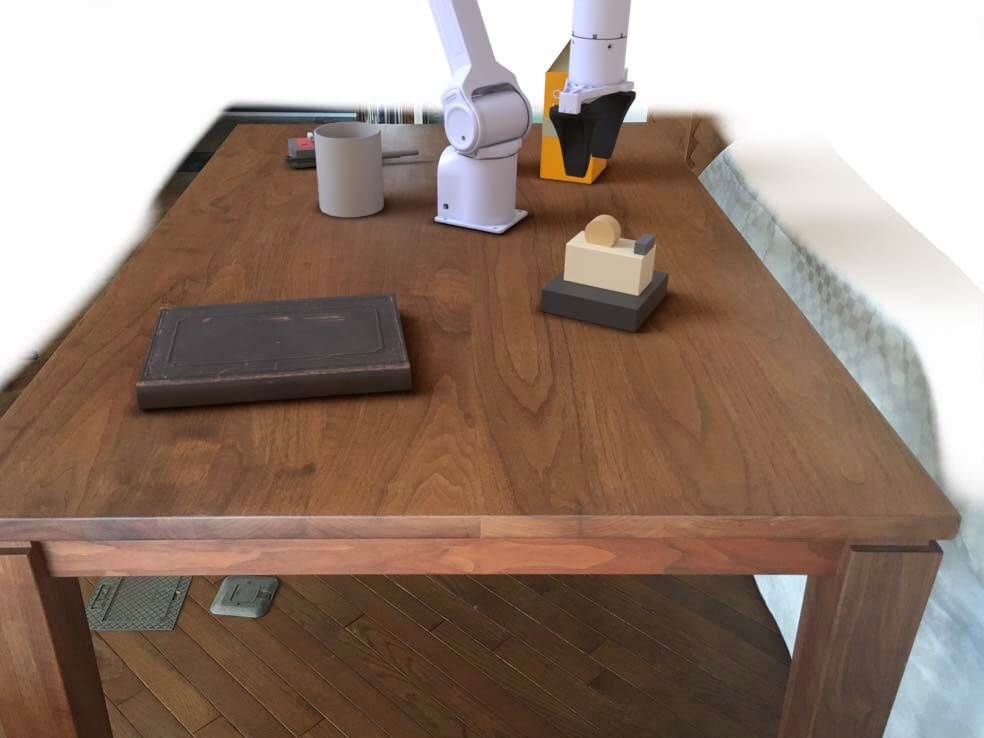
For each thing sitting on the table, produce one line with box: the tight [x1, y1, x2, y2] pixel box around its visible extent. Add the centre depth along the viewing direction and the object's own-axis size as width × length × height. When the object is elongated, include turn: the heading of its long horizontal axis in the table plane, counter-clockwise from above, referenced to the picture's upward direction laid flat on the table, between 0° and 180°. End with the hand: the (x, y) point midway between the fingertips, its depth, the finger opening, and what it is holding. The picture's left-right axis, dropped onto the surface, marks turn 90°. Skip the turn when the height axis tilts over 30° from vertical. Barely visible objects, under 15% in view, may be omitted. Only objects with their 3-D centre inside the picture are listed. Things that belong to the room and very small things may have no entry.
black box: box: [540, 269, 670, 333], centre depth 93 cm, size 10×10×2 cm
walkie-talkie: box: [283, 132, 420, 169], centre depth 136 cm, size 9×4×20 cm
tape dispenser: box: [563, 214, 657, 296], centre depth 91 cm, size 8×4×7 cm, turn 60°
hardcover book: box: [135, 292, 412, 410], centre depth 83 cm, size 16×23×2 cm
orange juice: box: [539, 38, 607, 185], centre depth 126 cm, size 8×9×20 cm
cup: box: [313, 121, 385, 218], centre depth 117 cm, size 8×8×10 cm
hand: (588, 166), depth 99 cm, fingers open, 7 cm apart
